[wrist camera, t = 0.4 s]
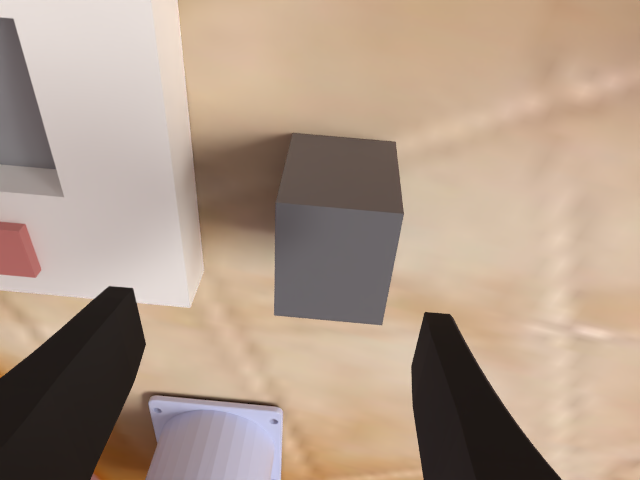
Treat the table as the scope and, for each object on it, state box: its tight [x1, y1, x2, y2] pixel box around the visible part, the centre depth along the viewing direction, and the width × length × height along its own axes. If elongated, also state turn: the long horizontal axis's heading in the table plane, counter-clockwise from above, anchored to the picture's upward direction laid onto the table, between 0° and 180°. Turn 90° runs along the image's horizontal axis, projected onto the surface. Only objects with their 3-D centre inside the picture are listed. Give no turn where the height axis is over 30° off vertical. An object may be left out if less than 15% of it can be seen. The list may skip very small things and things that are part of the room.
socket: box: [0, 0, 204, 308], centre depth 19 cm, size 14×12×3 cm
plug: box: [274, 133, 404, 325], centre depth 20 cm, size 5×4×5 cm
